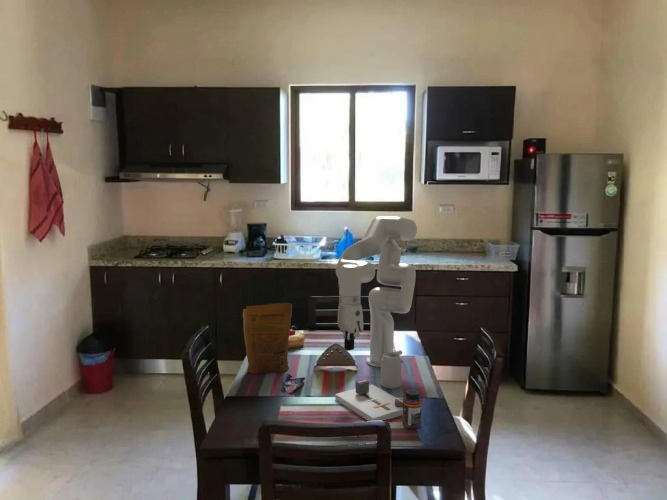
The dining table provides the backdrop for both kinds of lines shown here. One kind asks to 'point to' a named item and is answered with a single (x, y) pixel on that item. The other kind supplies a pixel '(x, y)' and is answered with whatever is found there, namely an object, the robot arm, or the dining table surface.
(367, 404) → the console board
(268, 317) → the pancake mix bag
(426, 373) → the dining table surface
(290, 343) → the pastry
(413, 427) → the supplement bottle
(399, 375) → the can
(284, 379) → the snack package
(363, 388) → the fader knob
